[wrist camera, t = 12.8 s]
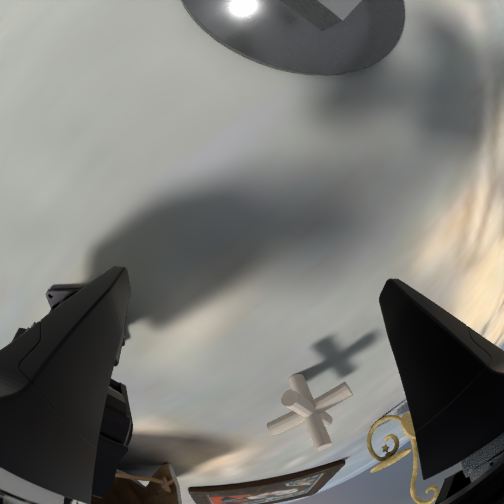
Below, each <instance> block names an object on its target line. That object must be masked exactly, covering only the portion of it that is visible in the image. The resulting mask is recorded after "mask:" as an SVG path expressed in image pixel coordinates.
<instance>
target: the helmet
mask: <svg viewBox="0 0 504 504" xmlns="http://www.w3.org/2000/svg"><path fill="white" fill-rule="evenodd" d="M137 480H142V481H150V482H149V484H148V485H147V486H146V487H145V486H144V485H142V484H141V483H140V482H139V481H137ZM72 504H86V503H83V502H79V501H76V500H73V502H72ZM90 504H182V501H181V494H180V486H179V483H178V481H177V478H176V475H175V473H174V470H173V467H172V466H171V464H170V463H167V464H164V465H162V466H161V468H160V469H159V470H158V471H157V472H156V473H155V474H154V475H153V477H152V478H151V477H141V476H132V475H129V474H127V473H125V472H123V471H121V470H119V469H117V471H116V474H115V478H114V482H113V486H112V490H111V491H110V492H109V493H108V494H107V495H106V496H105V497H104V498H99V497H96V496H93V495H91V503H90Z"/></svg>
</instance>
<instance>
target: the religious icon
mask: <svg viewBox="0 0 504 504" xmlns="http://www.w3.org/2000/svg"><path fill="white" fill-rule="evenodd" d="M344 465H345V460H340V461H336V462H333V463H330V464H327V465H324V466H320V467H316V468H313V469H310V470H306V471H302V472H298V473H294V474H290V475H285V476H280V477H275V478H270V479H265V480H259V481H253V482H247V483H240V484H232V485H222V486H208V487H190V488H188V491H189V494H190V495H191V497H192V498H193V500H194V501H195V503H196V504H273V503H278V502H283V501H288V500H293V499H297V498H302V497H306V496H310V495H313V494H315V493H316V492H318V491H319V489H321V488H322V487H323V486H324V485H325V484H326V483H327V482H328V481H329V480H330V479H331V478H332V477H333V476H334V475H335V474H336V473H337V472H338V471H339V470H340V469H341V467H343V466H344Z"/></svg>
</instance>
